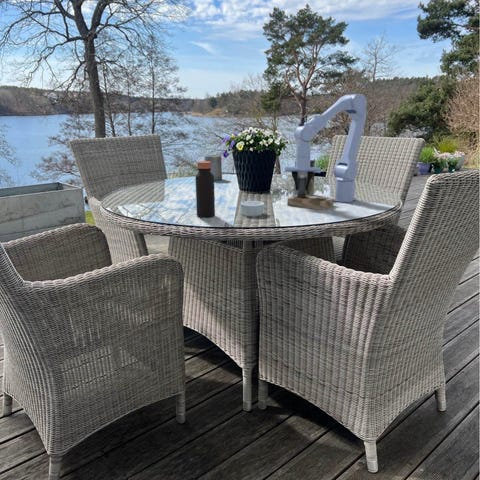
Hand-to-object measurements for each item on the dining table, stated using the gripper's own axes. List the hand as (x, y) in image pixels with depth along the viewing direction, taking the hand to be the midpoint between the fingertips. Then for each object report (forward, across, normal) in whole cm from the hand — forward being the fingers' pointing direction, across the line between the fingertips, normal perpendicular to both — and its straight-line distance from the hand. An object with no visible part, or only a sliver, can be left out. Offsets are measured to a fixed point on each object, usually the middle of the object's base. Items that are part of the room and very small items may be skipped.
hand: (301, 189), depth 175 cm
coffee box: (+6, -1, -21) cm, 22 cm away
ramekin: (+7, +18, +20) cm, 28 cm away
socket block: (+6, -4, +2) cm, 7 cm away
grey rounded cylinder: (+3, 0, 0) cm, 3 cm away
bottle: (+6, +35, +26) cm, 44 cm away
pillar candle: (+6, +52, -64) cm, 83 cm away
